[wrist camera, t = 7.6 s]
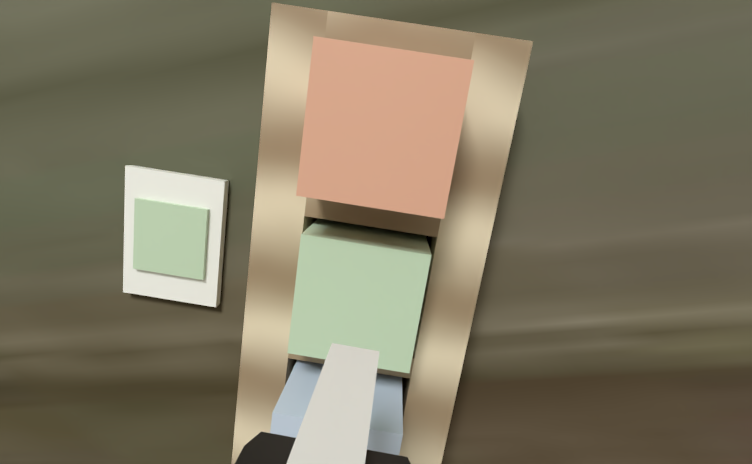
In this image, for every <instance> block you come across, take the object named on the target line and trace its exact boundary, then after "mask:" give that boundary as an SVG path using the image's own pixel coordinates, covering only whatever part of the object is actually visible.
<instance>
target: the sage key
mask: <svg viewBox="0 0 752 464" xmlns="http://www.w3.org/2000/svg"><path fill="white" fill-rule="evenodd" d="M431 256H432V255H431V252H430V248H429V245H428V242H427V238H426V235H420V234H414V233H407V232H401V231H395V230H389V229H382V228H376V227H370V226H364V225H357V224H351V223H345V222H339V221H332V220H326V219H320V218H318V219H317V220H316V221H315V222H314V223H313V224H312V225H311V226H309V227H308V228H307V229H306V230H305V231H304V232H303V233H302V234H301V238H300V247H299V256H298V265H297V273H296V282H295V291H294V300H293V308H292V317H291V326H290V335H289V343H288V352H287V353H289V354H295V355H301V356H307V357H313V358H319V359H325V360H326V357H327V355H328V352H329V349H330V347H331V344H332V343H335V344H341V345H347V346H352V347H358V348H364V349H370V350H375V351H380V352H379V360H378V367H377V368H379V369H385V370H391V371H397V372H403V373H410V367H411V362H412V357H413V351H414V346H415V341H416V335H417V330H418V325H419V319H420V314H421V309H422V303H423V298H424V293H425V287H426V282H427V277H428V272H429V266H430V261H431Z"/></svg>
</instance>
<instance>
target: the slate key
mask: <svg viewBox="0 0 752 464" xmlns="http://www.w3.org/2000/svg"><path fill="white" fill-rule="evenodd" d="M323 365H324V364H320V363H314V362H308V361H302V360H297V361H296V363H295V366H294V368H293V370H292V372H291V374H290V376H289V378H288V380H287V383H286V385H285V387H284V389H283V391H282V393H281V395H280V397H279V399H278V402H277V404H276V406H275V408H274V410H273V412H272V420H271V429H270V433H272V434H278V435H283V436H289V437H294V438H296V437H297V434H298V432H299V429H300V426H301V424H302V421H303V418H304V416H305V413H306V410H307V408H308V405H309V402H310V400H311V397H312V394H313V392H314V389H315V386H316V384H317V381H318V378H319V376H320V373H321V370H322V368H323ZM402 437H403V404H402V377H398V376H392V375H386V374H380V373H377V375H376V383H375V390H374V398H373V406H372V413H371V421H370V429H369V437H368V444H367V450H372V451H378V452H383V453H389V454H394V455H399V453H400V448H401V442H402Z"/></svg>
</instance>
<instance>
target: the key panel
mask: <svg viewBox="0 0 752 464" xmlns="http://www.w3.org/2000/svg"><path fill="white" fill-rule="evenodd" d="M313 36H317V37H323V38H330V39H337V40H343V41H350V42H357V43H363V44H370V45H377V46H383V47H390V48H397V49H403V50H410V51H417V52H423V53H430V54H437V55H443V56H450V57H457V58H463V59H470V60H474V65H473V70H472V76H471V81H470V86H469V91H468V97H467V102H466V107H465V112H464V117H463V123H462V128H461V133H460V138H459V144H458V149H457V154H456V159H455V165H454V170H453V175H452V180H451V186H450V191H449V196H448V201H447V207H446V212H445V217H444V219H440V218H434V217H427V216H421V215H415V214H408V213H402V212H396V211H390V210H383V209H377V208H371V207H364V206H358V205H352V204H345V203H339V202H333V201H326V200H320V199H314V198H308V197H301V196H296V192H297V182H298V173H299V164H300V155H301V146H302V137H303V128H304V118H305V109H306V100H307V91H308V82H309V73H310V64H311V55H312V45H313ZM532 45H533V41H527V40H520V39H513V38H507V37H500V36H493V35H486V34H480V33H473V32H466V31H460V30H453V29H446V28H439V27H433V26H426V25H419V24H412V23H406V22H399V21H392V20H386V19H379V18H372V17H365V16H359V15H352V14H345V13H338V12H332V11H325V10H318V9H312V8H305V7H298V6H291V5H285V4H278V3H272V7H271V19H270V30H269V42H268V53H267V64H266V76H265V87H264V99H263V110H262V122H261V133H260V144H259V156H258V167H257V179H256V190H255V202H254V213H253V224H252V236H251V247H250V259H249V270H248V281H247V293H246V304H245V316H244V327H243V339H242V350H241V361H240V373H239V384H238V396H237V407H236V419H235V430H234V441H233V453H232V464H235V462H236V460H237V458H238V456H239V455H240V453H241V451H242V449H243V447H244V445H246V444H247V443H248V442H249V441H250V440H252V439H253V438H254V437H255V436H256V435H258V434H259V433H260V432H261V431H262V432H267V433H270V429H271V420H272V412H273V410H274V408H275V406H276V404H277V402H278V399H279V397H280V395H281V393H282V391H283V389H284V387H285V385H286V383H287V380H288V378H289V376H290V374H291V372H292V370H293V368H294V366H295V363H296V361H297V360H302V361H308V362H314V363H320V364H324V363H325V359H319V358H313V357H307V356H301V355H295V354H289V353H287V352H288V343H289V335H290V326H291V317H292V308H293V300H294V291H295V282H296V273H297V265H298V256H299V247H300V238H301V234H302V233H303V232H304V231H305V230H306V229H307V228H308V227H309V226H311V225H312V224H313V223H314V222H315V221H316V220H317V219H318V218H320V219H326V220H332V221H339V222H345V223H351V224H357V225H364V226H370V227H376V228H382V229H389V230H395V231H401V232H407V233H414V234H420V235H426V236H429V237H428V245H429V248H430V252H431V255H432V256H431V261H430V266H429V272H428V277H427V282H426V287H425V293H424V298H423V303H422V309H421V314H420V319H419V325H418V330H417V335H416V341H415V346H414V351H413V357H412V362H411V367H410V373H403V372H397V371H391V370H385V369H379V368H377V373H380V374H386V375H392V376H398V377H403V378H402V404H403V437H402V442H401V448H400V453H399V456H405V457H408V459H409V461H410V463H411V464H441V462H442V458H443V453H444V448H445V444H446V439H447V435H448V430H449V425H450V421H451V416H452V412H453V407H454V402H455V398H456V393H457V389H458V384H459V380H460V375H461V370H462V366H463V361H464V357H465V352H466V347H467V343H468V338H469V334H470V329H471V325H472V320H473V315H474V311H475V306H476V302H477V297H478V292H479V288H480V283H481V279H482V274H483V269H484V265H485V260H486V256H487V251H488V247H489V242H490V237H491V233H492V228H493V224H494V219H495V214H496V210H497V205H498V201H499V196H500V191H501V187H502V182H503V178H504V173H505V169H506V164H507V159H508V155H509V150H510V146H511V141H512V136H513V132H514V127H515V123H516V118H517V113H518V109H519V104H520V100H521V95H522V91H523V86H524V81H525V77H526V72H527V68H528V63H529V58H530V54H531V49H532Z"/></svg>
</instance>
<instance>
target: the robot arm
mask: <svg viewBox="0 0 752 464" xmlns="http://www.w3.org/2000/svg"><path fill="white" fill-rule="evenodd" d="M379 352H380V351H375V350H370V349H364V348H358V347H352V346H347V345H341V344H335V343H332V344H331V347H330V349H329V352H328V355H327V357H326V360H325V363H324V365H323V368H322V370H321V373H320V376H319V378H318V381H317V384H316V386H315V389H314V392H313V394H312V397H311V400H310V402H309V405H308V408H307V410H306V413H305V416H304V418H303V421H302V424H301V426H300V429H299V432H298V434H297V437H296V438H294V437H289V436H283V435H278V434H272V433H267V432H262V431H261V432H260V433H259V434H258V435H256V436H255V437H254V438H253V439H252V440H250V441H249V442H248V443H247V444H246V445H244V447H243V449H242V451H241V453H240V455H239V456H238V458H237V460H236V462H235V464H411V463H410V461H409V459H408V457H405V456H399V455H394V454H389V453H383V452H378V451H372V450H367V444H368V437H369V429H370V421H371V413H372V406H373V398H374V390H375V383H376V375H377V367H378V360H379Z"/></svg>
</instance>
